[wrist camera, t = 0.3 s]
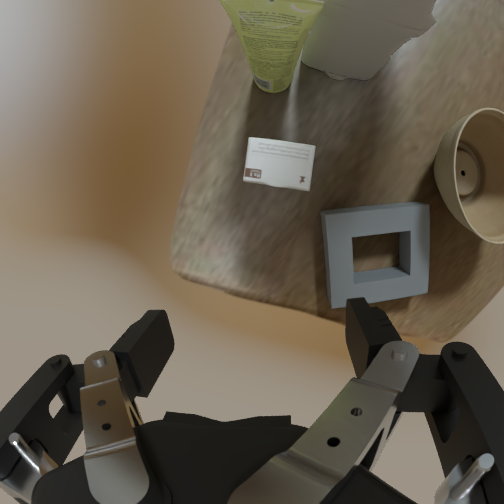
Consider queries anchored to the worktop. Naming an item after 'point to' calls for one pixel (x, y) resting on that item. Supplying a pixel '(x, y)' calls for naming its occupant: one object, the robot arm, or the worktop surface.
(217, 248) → the worktop surface
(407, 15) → the tall pale column
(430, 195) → the worktop surface
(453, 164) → the planter bowl
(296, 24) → the tube
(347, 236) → the socket frame
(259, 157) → the skincare box
